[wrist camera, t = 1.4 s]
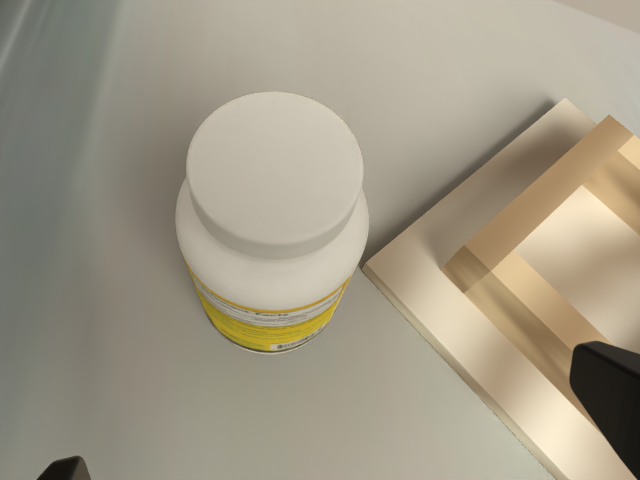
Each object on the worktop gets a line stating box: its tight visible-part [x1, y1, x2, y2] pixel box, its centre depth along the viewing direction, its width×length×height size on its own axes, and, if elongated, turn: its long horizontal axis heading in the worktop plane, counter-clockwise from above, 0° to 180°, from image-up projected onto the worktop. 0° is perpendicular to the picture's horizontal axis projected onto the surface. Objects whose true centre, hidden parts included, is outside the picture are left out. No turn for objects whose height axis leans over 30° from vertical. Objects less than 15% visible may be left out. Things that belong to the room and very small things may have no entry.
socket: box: [362, 98, 640, 480], centre depth 23 cm, size 16×16×4 cm
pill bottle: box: [175, 91, 369, 354], centre depth 18 cm, size 6×6×11 cm
